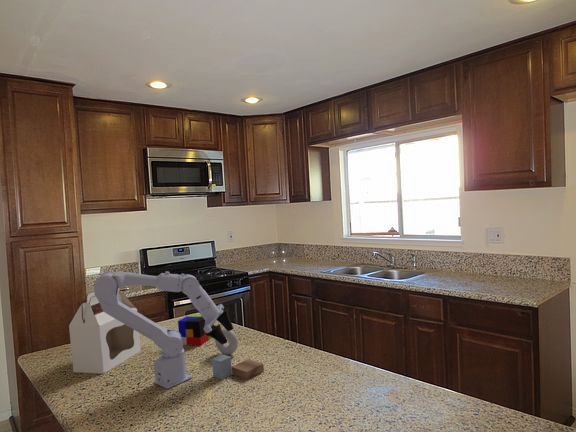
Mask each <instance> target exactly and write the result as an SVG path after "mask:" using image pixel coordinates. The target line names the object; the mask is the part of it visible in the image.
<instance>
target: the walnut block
mask: <svg viewBox="0 0 576 432" xmlns="http://www.w3.org/2000/svg"><path fill="white" fill-rule="evenodd" d="M231 369H232V375H231V376H235V377H238V378H240V379H243V380H245V381H248V380H250V379H252V378H254V377H256V376H258V375H260V374H261V373H264V371H265V370H264V369H265V367H264V363H262V362H259V361H256V360H253V359H249V358H247V359H246V360H243V361H241V362H239V363H236V364H235V365H233V366H232V365H231Z"/></svg>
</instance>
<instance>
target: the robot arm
mask: <svg viewBox="0 0 576 432" xmlns="http://www.w3.org/2000/svg"><path fill="white" fill-rule="evenodd" d="M128 286H144V287H145V286H148V287H155V288H157V289H156V290H158V291H160V292H161V291H162V292H173V293H180V292H182V293H183V294H184V295H186V296H187V298H189V301H190V302H191V303H192V304H193V306H194V307H195V309H196V311H198V314H201V315H202V317H203V318H204V319H205V326H204V331H205V334H206V335H207V336H210V337H212V338H211V339H214V340H217V341H218V342H219V343H221V344H222V345H223V344H227V343H228V339H227V338H226V337H225V335H224V334H223V332H222V330H221V329H222V327H223V329H224V328H225V329H226V330H227V331H231V330H232V331H233V330H234V326H233V323H232V321H231V318H230V313H229V309H228V308H225V306H224V305H223V304H222V303H220V304H218V305H216V304H215V302H214V301H213V299H212V298H211V297H210V296H209V294H208V293H207V292H206V290H205V289H203V287H202V285H201V284H200V282H199V280H197V277H195V276H194V275H192V274H189V273H187V274H186V273H181V274H176V273H170V271H167V270H166V271H165V272H164V273H163V272H161V273H159V275H149V274H144V273H143V274H142V273H137V272H136V273H135V272H128V271H114V272H113V271H105V272H103V273H101V274H100V276H99V277H98V278H96V280H95V282H94V289H93V292H94V293H95V296H96V297H97V299H98V301H99V303H98V304H99V305H100V307H101V310H102V311H104V312H105V313H106V314H108V315H110V316H111V317H113V318H115V319H117V320H118V321H120V322H122V323H123V324H125V325H127V326H129V327H130V328H132V329H134V330H135V331H137V332H139V335H140V334H141V335H142V336H143V337H144V336H145V337H146V338H147V339H150V340H151V341H152V342H153V343H154V344H155V345H156V347H158V348H159V349H161V351H162V352H161V356H160V357H159V358H157V359H155V361H154V363H153V366H154V379H155V381H154V384H156V385H159V386H161V387H162V388H164V389H170V388H172V387H175V386H177V385H179V384H182V383H183V382H186V381H188V380H190V379H192V378H193V376H192V375H189V374H188V373H187V368H186V367H187V366H186V355H185V349H184V345H183V343H182V340H181V334H180V333H179V330H177V329H171V328H168V327H166V326H163V325H160V324H158V323H156V322H155V321H153V320H151V319H149V317H146V316H145V315H143V314H142V313H140V312H138V311H137V312H136V311H135V310H133V309H131V308H130V307H128V306H126V305H125V304H123V303H121V302H120V301H119V296H118V288H119V289H120V290H122V289H124V288H126V287H128ZM224 308H225V309H224ZM216 321H217V322H218V323H219V324H217V325H215V323H216ZM221 325H222V327H221Z"/></svg>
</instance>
